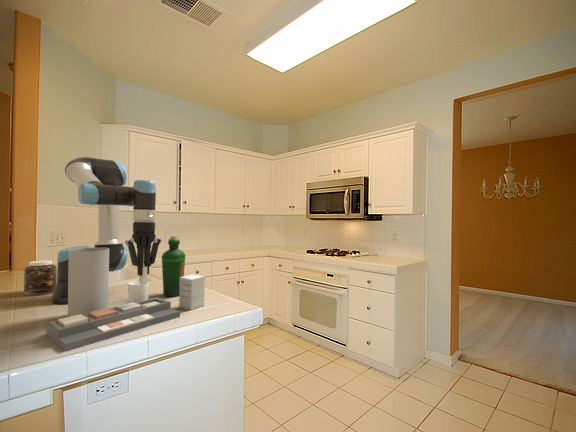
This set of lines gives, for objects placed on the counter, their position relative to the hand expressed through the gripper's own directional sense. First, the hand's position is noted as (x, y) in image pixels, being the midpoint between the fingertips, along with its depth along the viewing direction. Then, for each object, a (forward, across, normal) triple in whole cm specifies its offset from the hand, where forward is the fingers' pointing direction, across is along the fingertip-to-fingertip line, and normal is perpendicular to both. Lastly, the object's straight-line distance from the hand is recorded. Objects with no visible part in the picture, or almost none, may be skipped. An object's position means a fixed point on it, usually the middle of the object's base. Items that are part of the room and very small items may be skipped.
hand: (143, 283), depth 109 cm
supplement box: (+13, +18, -5) cm, 23 cm away
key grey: (+9, -5, 0) cm, 10 cm away
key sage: (+10, +3, 0) cm, 11 cm away
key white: (+9, -22, 0) cm, 24 cm away
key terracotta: (+9, -14, 0) cm, 16 cm away
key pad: (+12, -9, -2) cm, 16 cm away
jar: (+13, -13, +69) cm, 71 cm away
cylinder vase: (+13, -12, +16) cm, 24 cm away
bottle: (+13, +24, +17) cm, 32 cm away
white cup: (+13, +5, +13) cm, 19 cm away
